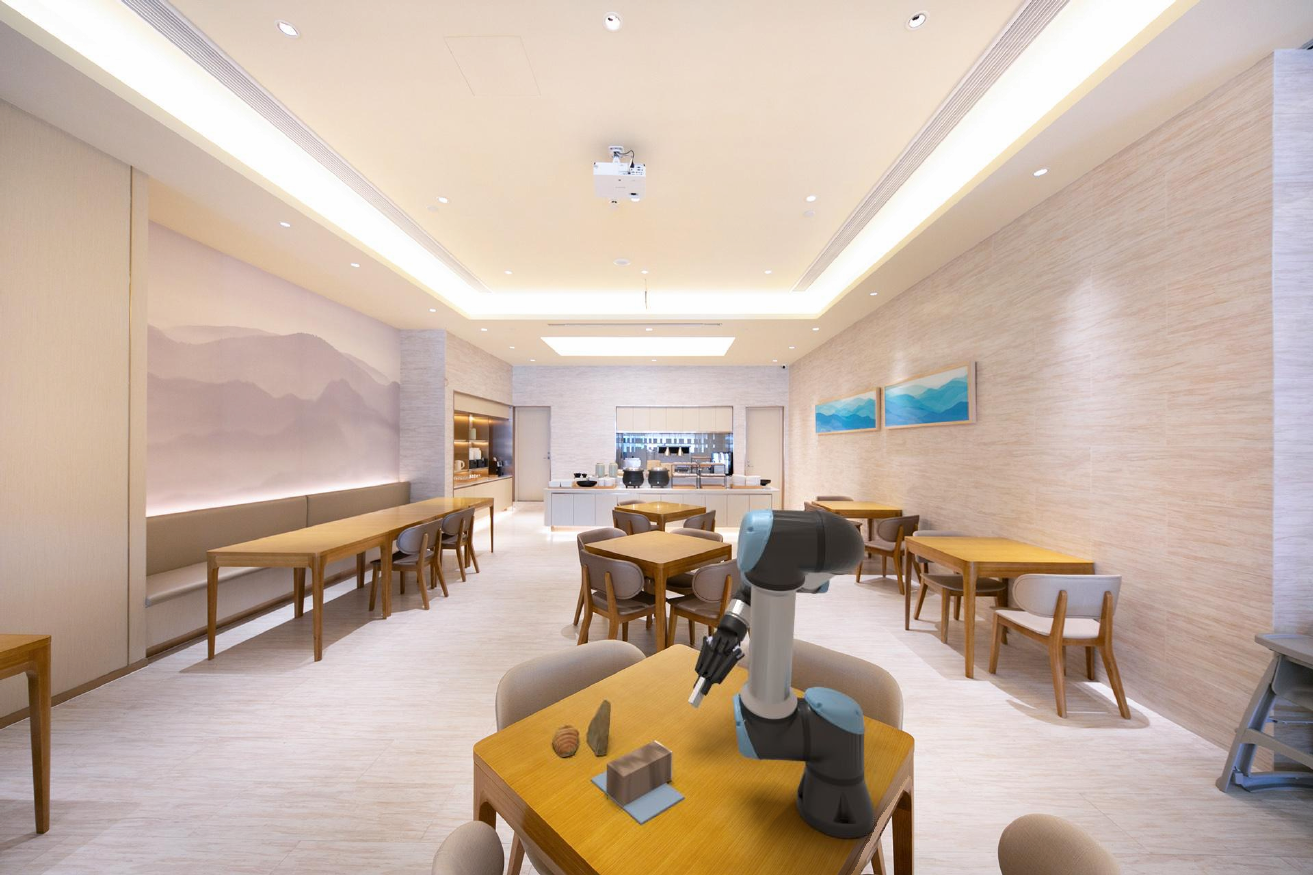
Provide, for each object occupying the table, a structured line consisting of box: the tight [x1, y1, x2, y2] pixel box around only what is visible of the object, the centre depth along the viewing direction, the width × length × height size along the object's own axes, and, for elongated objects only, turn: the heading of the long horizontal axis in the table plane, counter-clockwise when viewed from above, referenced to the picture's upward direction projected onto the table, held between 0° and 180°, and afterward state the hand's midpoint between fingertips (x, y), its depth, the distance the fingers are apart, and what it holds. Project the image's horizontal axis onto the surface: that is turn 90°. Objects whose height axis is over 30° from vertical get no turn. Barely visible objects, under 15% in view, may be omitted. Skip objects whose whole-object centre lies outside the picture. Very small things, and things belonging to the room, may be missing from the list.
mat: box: [590, 770, 685, 826], centre depth 109 cm, size 18×12×1 cm, turn 41°
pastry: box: [552, 724, 581, 758], centre depth 125 cm, size 9×7×4 cm
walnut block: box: [606, 740, 674, 806], centre depth 109 cm, size 6×6×14 cm
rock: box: [585, 699, 612, 756], centre depth 126 cm, size 11×9×10 cm
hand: (692, 704), depth 121 cm, fingers closed
